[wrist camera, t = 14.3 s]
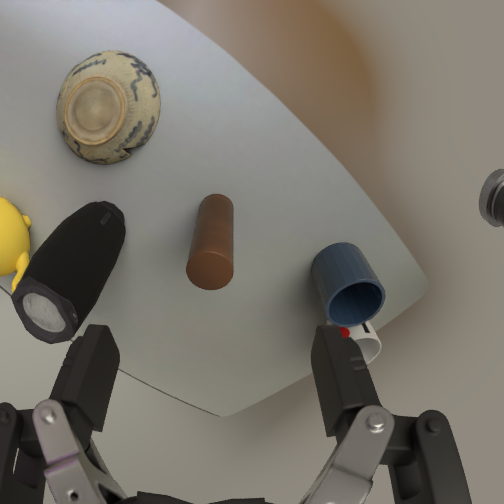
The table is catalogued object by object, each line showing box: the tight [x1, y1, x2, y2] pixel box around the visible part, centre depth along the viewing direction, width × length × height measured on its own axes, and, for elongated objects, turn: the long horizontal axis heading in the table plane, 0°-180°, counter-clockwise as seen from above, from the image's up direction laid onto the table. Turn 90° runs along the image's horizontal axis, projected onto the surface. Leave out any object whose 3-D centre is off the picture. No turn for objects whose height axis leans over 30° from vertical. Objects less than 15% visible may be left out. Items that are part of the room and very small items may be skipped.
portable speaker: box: [11, 201, 126, 344], centre depth 31 cm, size 9×9×20 cm
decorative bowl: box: [57, 51, 160, 164], centre depth 29 cm, size 15×4×15 cm
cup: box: [327, 319, 381, 364], centre depth 47 cm, size 8×8×10 cm
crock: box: [312, 243, 385, 328], centre depth 42 cm, size 9×9×9 cm
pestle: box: [186, 194, 233, 290], centre depth 34 cm, size 4×4×14 cm
